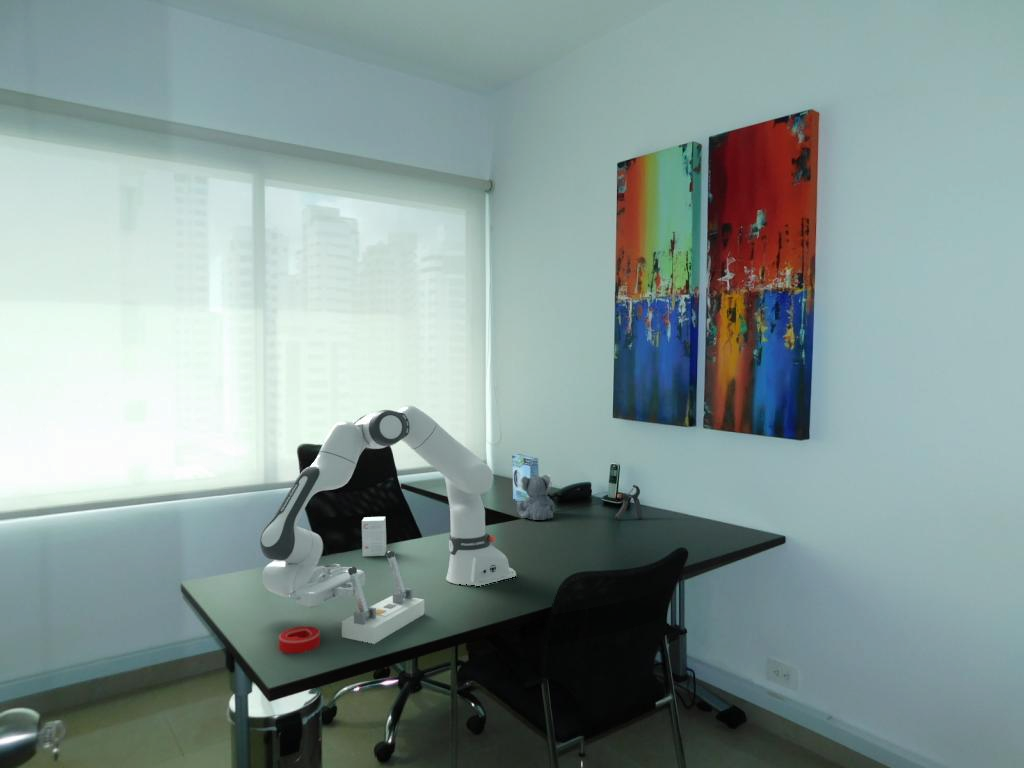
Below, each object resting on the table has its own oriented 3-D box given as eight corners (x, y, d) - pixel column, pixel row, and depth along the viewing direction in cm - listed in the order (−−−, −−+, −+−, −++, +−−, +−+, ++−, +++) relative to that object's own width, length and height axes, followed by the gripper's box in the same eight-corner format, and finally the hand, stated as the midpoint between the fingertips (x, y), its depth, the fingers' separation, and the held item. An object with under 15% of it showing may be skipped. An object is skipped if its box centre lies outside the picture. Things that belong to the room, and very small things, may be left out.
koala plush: (553, 512, 309) (553, 470, 309) (559, 521, 292) (558, 477, 291) (516, 513, 308) (515, 471, 308) (519, 522, 290) (518, 477, 290)
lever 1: (366, 617, 171) (352, 566, 173) (373, 615, 170) (358, 564, 172) (359, 621, 168) (344, 569, 170) (365, 619, 167) (350, 567, 169)
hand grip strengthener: (614, 519, 294) (613, 485, 294) (641, 518, 297) (641, 484, 296) (615, 520, 292) (615, 486, 292) (643, 519, 294) (642, 485, 294)
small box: (386, 551, 248) (386, 516, 247) (385, 556, 241) (384, 520, 241) (364, 552, 247) (363, 516, 246) (362, 557, 240) (361, 520, 240)
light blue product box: (539, 505, 326) (539, 458, 326) (530, 506, 324) (529, 459, 324) (521, 498, 344) (520, 453, 343) (512, 499, 342) (511, 454, 341)
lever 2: (403, 597, 185) (389, 550, 187) (410, 595, 184) (395, 548, 186) (397, 601, 183) (383, 553, 184) (403, 599, 182) (389, 551, 183)
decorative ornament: (320, 636, 170) (320, 624, 170) (319, 652, 161) (318, 639, 161) (281, 640, 168) (280, 628, 168) (277, 656, 159) (276, 643, 159)
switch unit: (394, 608, 189) (394, 585, 189) (424, 614, 184) (424, 590, 184) (342, 637, 169) (341, 611, 169) (373, 644, 165) (373, 617, 164)
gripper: (284, 583, 167) (327, 591, 161) (340, 561, 186) (380, 568, 179) (285, 608, 168) (327, 617, 161) (340, 584, 186) (380, 591, 180)
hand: (355, 591), depth 171 cm, fingers closed, pressing on lever 1
